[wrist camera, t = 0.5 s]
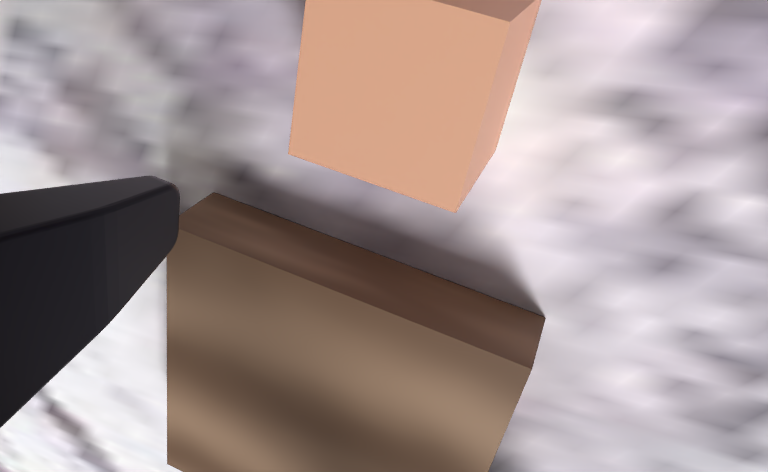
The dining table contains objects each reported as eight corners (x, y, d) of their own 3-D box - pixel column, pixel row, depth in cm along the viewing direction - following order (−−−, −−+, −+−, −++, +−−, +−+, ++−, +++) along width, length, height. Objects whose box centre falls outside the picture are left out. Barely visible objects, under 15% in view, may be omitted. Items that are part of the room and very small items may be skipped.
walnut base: (452, 538, 30) (434, 596, 28) (203, 421, 33) (167, 463, 31) (545, 317, 23) (531, 369, 20) (213, 192, 26) (166, 224, 23)
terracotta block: (496, 149, 21) (455, 212, 17) (357, 105, 22) (288, 154, 18) (544, -8, 18) (510, 21, 14) (384, -50, 19) (309, -34, 15)
